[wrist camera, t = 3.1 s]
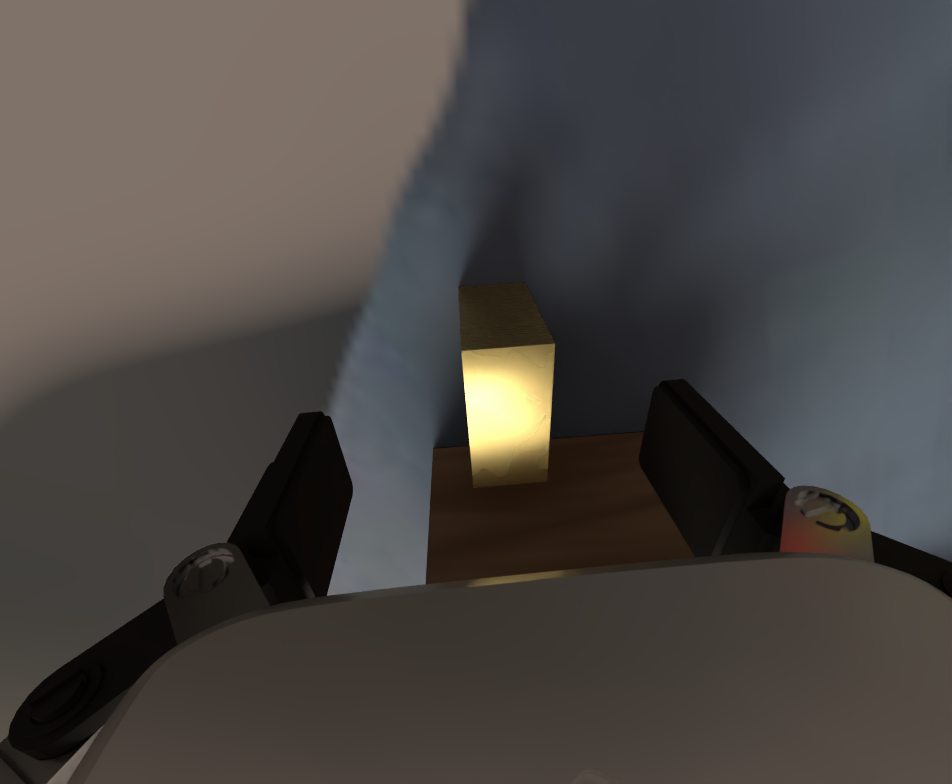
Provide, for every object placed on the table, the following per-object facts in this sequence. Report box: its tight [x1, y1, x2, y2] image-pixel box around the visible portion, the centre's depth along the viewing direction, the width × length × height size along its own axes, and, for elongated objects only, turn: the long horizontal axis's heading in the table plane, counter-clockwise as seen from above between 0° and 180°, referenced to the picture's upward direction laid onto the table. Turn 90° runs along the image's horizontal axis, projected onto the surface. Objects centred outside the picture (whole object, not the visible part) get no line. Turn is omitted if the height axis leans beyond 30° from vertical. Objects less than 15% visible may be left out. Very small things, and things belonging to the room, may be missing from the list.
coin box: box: [426, 432, 695, 584], centre depth 17 cm, size 12×12×10 cm
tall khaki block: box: [458, 282, 555, 488], centre depth 13 cm, size 5×2×5 cm, turn 3°
